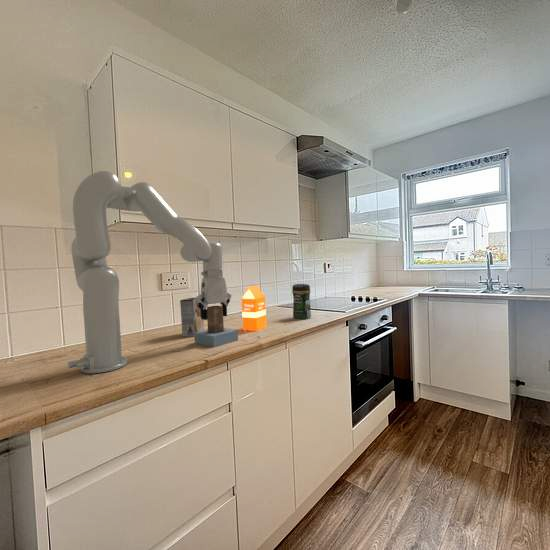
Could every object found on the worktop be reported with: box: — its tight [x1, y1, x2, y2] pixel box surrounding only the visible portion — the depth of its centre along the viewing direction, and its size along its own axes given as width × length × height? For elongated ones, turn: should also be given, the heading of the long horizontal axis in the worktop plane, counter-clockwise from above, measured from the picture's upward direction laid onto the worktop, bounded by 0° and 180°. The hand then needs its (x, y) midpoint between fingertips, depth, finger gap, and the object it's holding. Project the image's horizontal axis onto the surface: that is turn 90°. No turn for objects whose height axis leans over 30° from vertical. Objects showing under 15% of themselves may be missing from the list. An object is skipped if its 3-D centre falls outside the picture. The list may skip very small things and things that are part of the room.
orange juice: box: [241, 285, 267, 332], centre depth 140 cm, size 8×9×20 cm
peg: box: [206, 305, 225, 334], centre depth 119 cm, size 4×4×14 cm
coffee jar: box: [291, 283, 312, 320], centre depth 163 cm, size 10×8×19 cm
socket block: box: [194, 327, 239, 348], centre depth 119 cm, size 12×12×4 cm
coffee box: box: [179, 297, 205, 337], centre depth 134 cm, size 9×6×16 cm
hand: (214, 317), depth 119 cm, fingers open, 9 cm apart
